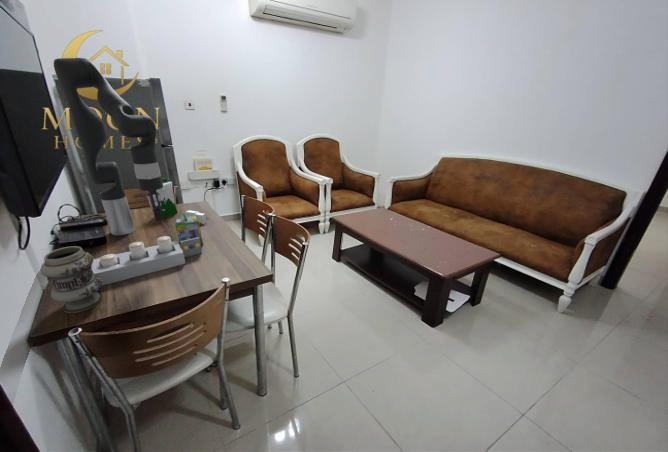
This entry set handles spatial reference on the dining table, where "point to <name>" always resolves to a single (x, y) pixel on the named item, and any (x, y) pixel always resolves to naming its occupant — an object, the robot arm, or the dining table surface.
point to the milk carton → (167, 199)
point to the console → (139, 264)
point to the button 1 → (108, 260)
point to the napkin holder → (200, 215)
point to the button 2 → (137, 250)
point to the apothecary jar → (72, 278)
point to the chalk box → (188, 228)
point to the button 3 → (164, 244)
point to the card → (191, 247)
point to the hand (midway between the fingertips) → (159, 221)
